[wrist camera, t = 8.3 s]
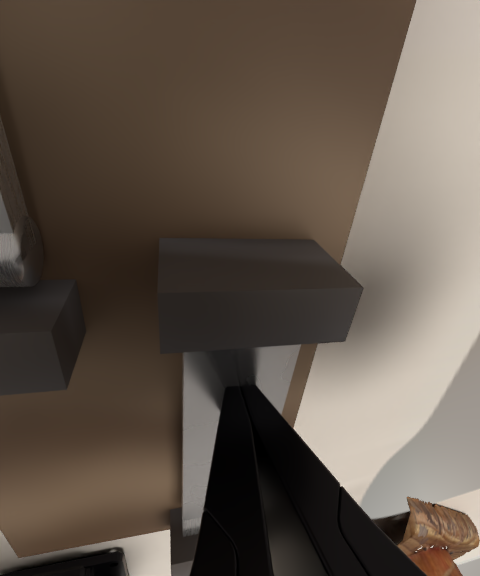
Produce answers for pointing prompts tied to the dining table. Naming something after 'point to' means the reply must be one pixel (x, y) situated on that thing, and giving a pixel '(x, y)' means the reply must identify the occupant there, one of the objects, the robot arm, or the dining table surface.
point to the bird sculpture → (437, 538)
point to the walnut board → (170, 230)
